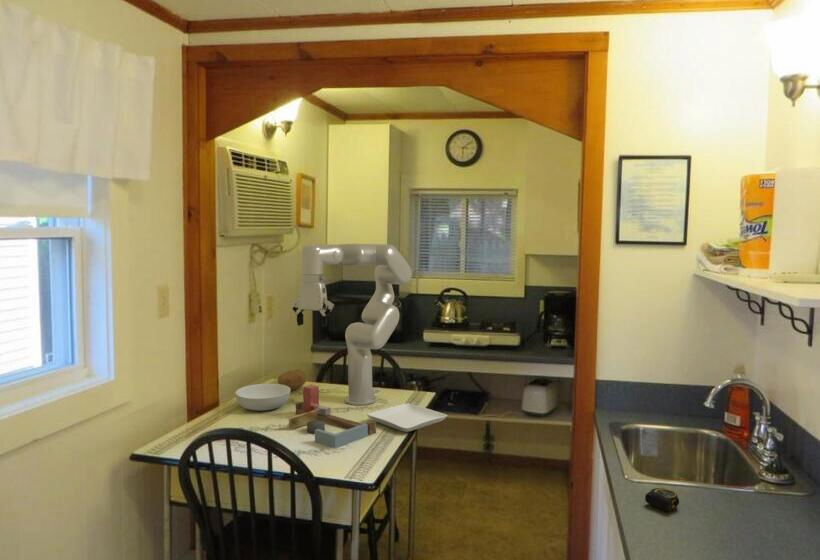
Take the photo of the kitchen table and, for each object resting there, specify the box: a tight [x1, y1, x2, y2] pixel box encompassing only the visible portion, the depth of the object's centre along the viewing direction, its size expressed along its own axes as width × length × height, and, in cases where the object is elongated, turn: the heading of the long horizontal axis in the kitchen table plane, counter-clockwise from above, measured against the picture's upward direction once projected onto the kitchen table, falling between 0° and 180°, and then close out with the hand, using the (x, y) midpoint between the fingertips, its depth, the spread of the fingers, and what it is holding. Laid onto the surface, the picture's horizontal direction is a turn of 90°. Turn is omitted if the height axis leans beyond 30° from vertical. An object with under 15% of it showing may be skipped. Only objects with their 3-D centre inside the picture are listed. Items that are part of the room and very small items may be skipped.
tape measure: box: [644, 487, 680, 512], centre depth 160 cm, size 7×7×4 cm
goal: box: [314, 423, 369, 449], centre depth 210 cm, size 15×10×4 cm, turn 140°
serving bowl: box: [235, 383, 292, 412], centre depth 246 cm, size 21×21×7 cm
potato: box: [277, 368, 307, 391], centre depth 272 cm, size 10×14×8 cm
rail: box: [295, 401, 377, 436], centre depth 227 cm, size 3×38×4 cm, turn 50°
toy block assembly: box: [288, 384, 331, 430], centre depth 227 cm, size 17×11×11 cm, turn 140°
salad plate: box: [366, 402, 448, 433], centre depth 228 cm, size 21×21×3 cm
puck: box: [306, 420, 326, 435], centre depth 218 cm, size 6×6×3 cm
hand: (312, 325), depth 232 cm, fingers open, 9 cm apart
